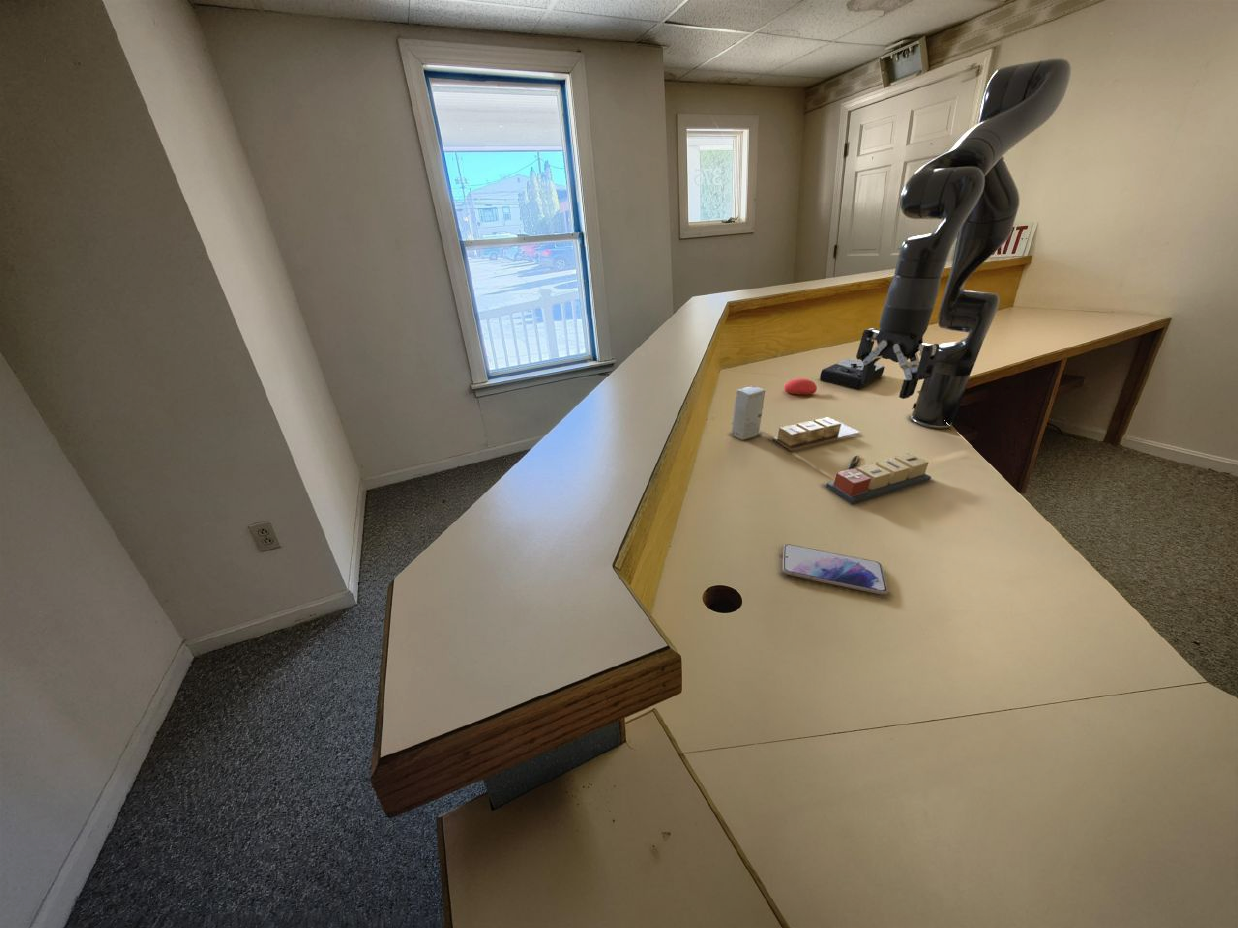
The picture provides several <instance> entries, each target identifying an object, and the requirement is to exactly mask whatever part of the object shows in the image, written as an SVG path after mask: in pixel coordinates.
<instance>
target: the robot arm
mask: <svg viewBox="0 0 1238 928" xmlns="http://www.w3.org/2000/svg"><path fill="white" fill-rule="evenodd" d="M1071 71H1072V67H1071V63H1070V62H1069V61H1068V59H1065V58H1062V57H1061V58H1059V57H1058V58H1056V57H1055V58H1047V59H1041V60H1036V61H1028V62H1022V63H1017V64H1011V65H1006V66H1003V67H1001V68H999V69H997V70H996V71H995V72H994V73H993V75H992V76H991V78H990V80H989V81H988V83H987V86H986V87H985V91H984V94H983V98H982V102H981V106H980V110H979V117H978V123H977V124H976V125H975V126H974V127H972V128H971V129H969V130H968V131H967V132H966V133H964V134H963V135H962V136H961V137H960V139H958V141H957V142H956V143H955V144H954V145H953V146H952V147H951V149H949V151H947V152H945V153H943V154H940V155H939V156H937V157H935V158H934V159H932V160H931V161H928V162H927V163H926V164H924V165H922V166H921V167H919V169H917V170H916V171H915V172H914V173H913V174H912V175H911V176H910V177H909V179H908V181H907V182H906V184H905V185H904V187H903V189H902V192H901V195H900V201H899V202H900V203H899V205H900V210H901V212H902V214H903V215H904V216H905V217H907V218H908V219H912V220H941V222H940V223H939V225H938V226H937V228H936V229H935V230H934V231H933V232H931V233H927V234H921V235H916V236H911V237H908V238H906V239H905V240H904V241H903V242H902V245H901V247H900V251H899V253H898V259H897V262H896V265H895V270H894V273H893V276H892V279H891V282H890V284H889V287H888V290H887V293H886V297H885V301H884V306H883V309H882V313H881V317H880V320H879V324H878V327H879V330H878V328H877V327H874V328H873V327H872V328H868V329H864V330H863V332H862V335H861V339H860V342H859V346H858V349H857V352H856V355H855V359H856V360H857V361H862V362H863V364H864V366H863V370H862V375H861V380H862V381H861V383H862V384H867V385H869V384H872V383H873V381H872V380H873V376H874V373H875V369H876V365H874V364H877V363H878V362H879V361H880V360H881V359H885V360H890V361H892V362H893V363H898V365H899V367H900V369H901V370H902V371H903V373H904V376H905V378H904V379H903V382H902V385H901V388H900V391H899V394H898V398H899V399H902V400H904V399H905V400H906V399H909V398H911V397H912V396H913V395H914V394H915V391H916V388H917V385H918V382H919V381H921V380H922V384H921V386H920V389H919V393H918V395H917V399H916V401H915V403H913V405H912V408H911V410H912V413H911V415H910V420H911V421H912V422H913V423H915V424H917V425H919V426H922V427H925V428H930V429H943V430H944V429H948V428H950V426H951V427H952V425H953V423H954V421H955V419H956V416H957V413H958V411H959V408H960V405H961V403H962V400H963V397H964V395H965V392H966V387H967V384H968V382H969V379H970V377H971V374H972V371H973V369H974V367H975V364H976V362H977V359H978V356H979V353H980V351H981V349H982V346H983V344H984V342H985V338H986V336H987V334H988V332H989V330H990V327H991V325H992V323H993V321H994V319H995V316H996V314H997V313H998V309H999V305H1000V302H1001V301H1000V296H999V294H998V293H995V292H988V291H976V290H966V289H965V285H966V283H967V281H968V279H969V278H970V277H971V276H972V275H973V274H974V273H975V271H977V269H978V268H980V266H981V265H982V264H983V263H985V262H986V261H987V260H988V259H989V258H990V257H992V256H993V255H994V254H995V253H996V252H997V251H998V250H999V249H1000V248H1001V247H1002V246H1003V245H1004V244H1005V243H1006V242H1007V240H1008V239H1009V238H1010V236H1011V234H1012V231H1013V228H1014V224H1015V221H1016V218H1017V215H1018V211H1019V206H1020V200H1021V199H1020V192H1019V190H1018V187H1017V184H1016V183H1015V180H1014V178H1013V177H1012V174H1011V172H1010V170H1009V169H1008V167H1007V164H1006V160H1005V157H1004V155H1005V154H1007V153H1008V152H1009V151H1011V149H1013V148H1014V147H1015V146H1016V145H1018V144H1019V143H1021V142H1022V141H1023V140H1024V139H1026V138H1027V137H1028V136H1030V135H1031V134H1032V133H1033V132H1035V131H1037V129H1039V128H1041V127H1042V126H1043V125H1044V124H1045V123H1046V122H1048V121H1049V120H1050V119H1051V117H1052V116H1054V114H1055V113H1056V111H1057V110H1058V108H1059V107H1060V105H1061V103H1062V101H1063V99H1064V97H1065V94H1066V92H1067V89H1068V86H1069V83H1070V82H1069V81H1070V80H1071V79H1070V78H1071V73H1072V72H1071ZM954 243H955V248H954V253H953V256H952V257H953V258H952V262H951V266H950V271H949V275H948V278H947V282H946V284H945V288H944V292H943V296H942V299H941V302H940V306H939V310H938V315H937V325H938V327H939V328H941V329H944V330H948V331H954V332H960V333H967V334H968V335H967V337H965V338H963V339H960V340H957V341H952V342H944V343H939V344H938V343H932V344H929V343H924V339H923V337H924V335H925V334H926V332H927V330H928V327H929V324H930V322H931V317H932V314H933V311H934V308H935V306H936V305H935V304H936V301H937V298H938V296H939V292H940V286H941V280H942V277H943V274H944V270H945V267H946V264H947V261H948V257H949V256H950V255H949V254H950V251H951V249H952V248H953V245H954ZM875 342H876V344H877V346H876V347H875V348H874V345H875ZM873 348H874V349H873ZM918 352H919V353H918ZM918 355H919V356H920V359H919V356H918ZM908 360H909V361H908ZM944 420H945V421H944ZM946 422H947V423H948V424H949V425H950V426H949V425H947V424H946Z"/></svg>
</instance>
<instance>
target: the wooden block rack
mask: <svg viewBox="0 0 1238 928" xmlns="http://www.w3.org/2000/svg"><path fill="white" fill-rule="evenodd" d="M928 465H929V461H926V460H925V459H924V458H921V457H919V456H916V455H915V454H912V453H911V452H909V453H908V452H907V453H906V454H901V455H898V456H897V455H896V456H895V457H894V458H892V457H889V458H885V459H883V460H879V461H876V462H875V463H873V462H872V463H868V464H863V465H861V466H857V467H856V468H855V470H857V471H859V472H861V473H863V474H864V475H866V476H867V477H869V478H871V481H870V484H869V487H868V490H867V491H866V492H863V493H859V494H856V495H853V496H850V495H848V494H847V493H845V492H843V491H842V490H840V489H839V488H837V487H836V486H834V485H833V484H834V481H835V480H833V481H829V482H826V484H825V488H827V489H828V490H830V491H831V492H833V493H835V494H836V495H837V496H839V497H840V498H842V499H843V500H845V501H846V502H848V503H850V504H851V505H856V504H858V503H861V502H865V501H869V500H872V499H874V498H879V497H882V496H885V495H888V494H891V493H895V492H897V491H900V490H904V489H907V488H911V487H915V486H917V485H920V484H923V483H926V482H930V481H931V479H932V476H931V475H929V474H927V473H926V471H927V468H928Z"/></svg>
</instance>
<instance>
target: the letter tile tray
mask: <svg viewBox="0 0 1238 928" xmlns="http://www.w3.org/2000/svg"><path fill="white" fill-rule="evenodd" d="M860 433H861V431H859V430H856V429H854V428H853V427H850V426H848V425H846V424H845V423H842V422H840V421H837V420H835V419H833V418H830V417H828V416H825V417H821V418H816V419H814V420H808V421H802V422H798V423H796V424H794V423H793V424H790V425H785V426H780V427H779V428H778V433H777V435H774V436H772V438H771V441H772V442H774V443H775V444H777V445H778V446H780V447H782V448H783V449H785V450H786V451H788V452H789V453H793V450H792V449H798V448H801V447H805V446H810V445H814V444H818V443H822V442H826V441H830V440H834V439H839V438H843V437H848V436H852V435H856V434H860ZM779 442H780V443H779ZM781 443H782V444H781ZM789 448H790V449H789Z"/></svg>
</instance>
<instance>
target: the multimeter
mask: <svg viewBox="0 0 1238 928" xmlns="http://www.w3.org/2000/svg"><path fill="white" fill-rule="evenodd" d="M874 365H876V369H875V373H874V376H873V380H872V382H875V381H876V380H878V379H880V378H881V377H883V376H884V375H883V374H884V372H885V368H886V367H885V366H884V365H882V364H877V363H875V364H874ZM863 366H864V364H863V362H862V361H861V360H858V359H853V358H845V359H842V360H841V361H838V362H836V363H834V364H832V365H829V366H828V367H825V368H822V370H821V372H820V376H819V380H820V381H822V382H823V381H824V382H827V383H831V384H835V385H838V386H843V387H847V388H850V389H855V390H860V389H862V388H863V387H866V386H867V385H868V384H862V383H861V381H862V380H861V375H862V370H863Z"/></svg>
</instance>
